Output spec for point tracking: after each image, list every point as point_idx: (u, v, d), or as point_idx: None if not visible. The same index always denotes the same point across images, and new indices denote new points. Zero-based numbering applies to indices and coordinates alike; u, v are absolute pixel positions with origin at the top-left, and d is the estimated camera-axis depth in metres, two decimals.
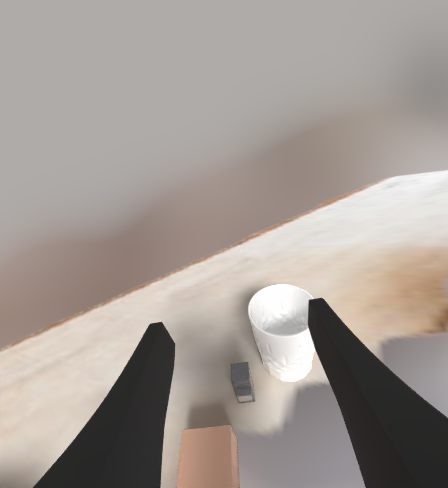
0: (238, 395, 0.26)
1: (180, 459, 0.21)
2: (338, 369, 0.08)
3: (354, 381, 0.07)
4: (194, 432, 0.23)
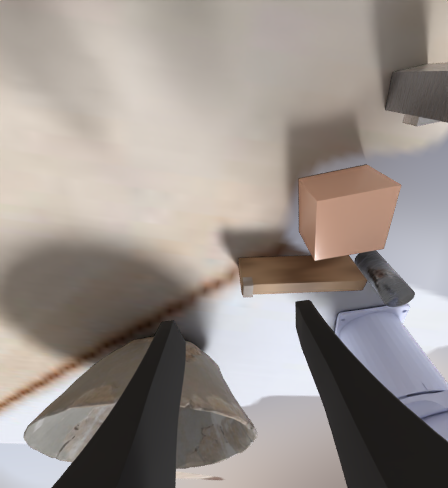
0: (420, 123, 0.13)
1: (317, 230, 0.16)
2: (321, 371, 0.08)
3: (334, 383, 0.07)
4: (337, 202, 0.14)
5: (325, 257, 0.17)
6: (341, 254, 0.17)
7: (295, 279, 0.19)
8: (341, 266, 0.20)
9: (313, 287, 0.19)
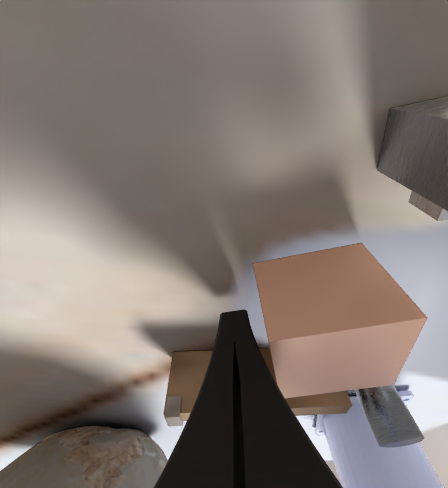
0: (445, 216, 0.06)
1: (278, 372, 0.09)
2: None
3: (241, 394, 0.07)
4: (307, 341, 0.08)
5: (297, 395, 0.10)
6: (323, 392, 0.10)
7: None
8: None
9: None
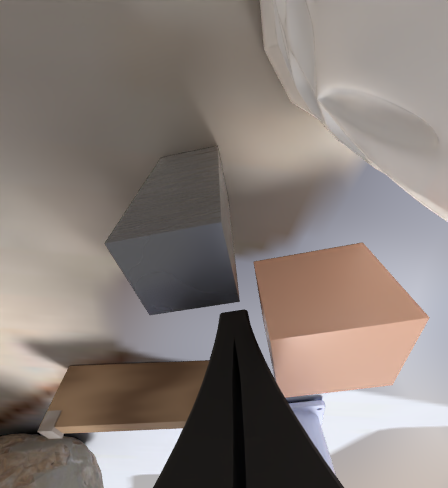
0: None
1: (278, 370, 0.09)
2: None
3: (242, 394, 0.07)
4: (309, 340, 0.08)
5: (296, 394, 0.10)
6: (322, 392, 0.10)
7: (120, 415, 0.14)
8: (197, 387, 0.15)
9: (147, 426, 0.14)
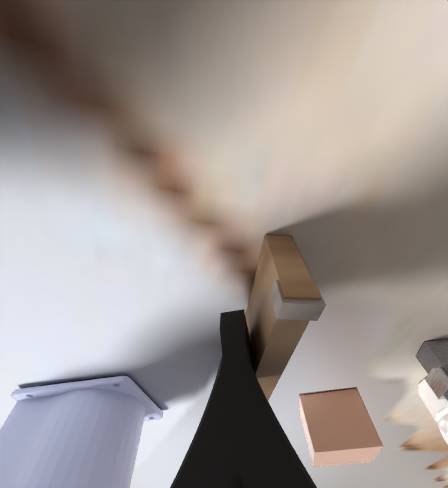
0: None
1: (351, 449, 0.17)
2: None
3: None
4: (375, 451, 0.18)
5: (315, 454, 0.18)
6: (316, 458, 0.18)
7: None
8: None
9: (263, 383, 0.11)
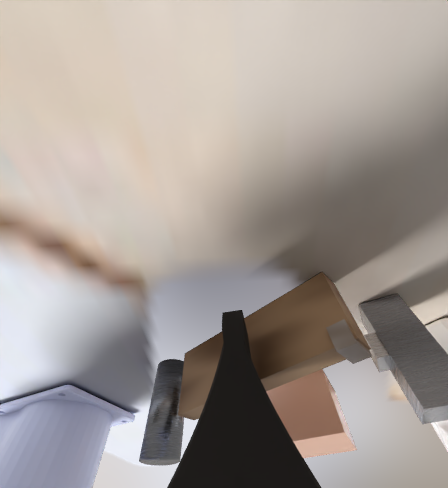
0: (379, 359, 0.11)
1: (309, 439, 0.15)
2: None
3: None
4: (343, 438, 0.15)
5: None
6: None
7: None
8: None
9: None
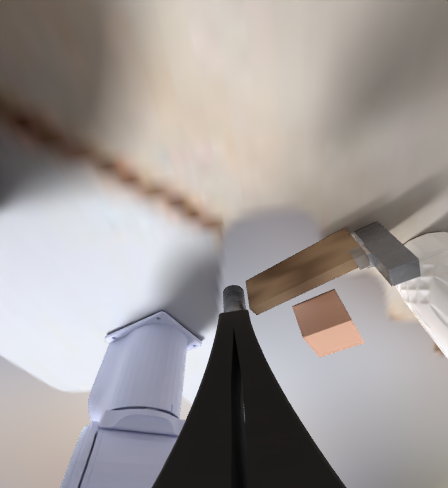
0: None
1: (329, 328, 0.23)
2: None
3: (243, 394, 0.07)
4: (352, 327, 0.23)
5: (306, 340, 0.24)
6: (311, 345, 0.24)
7: None
8: None
9: (295, 291, 0.20)
